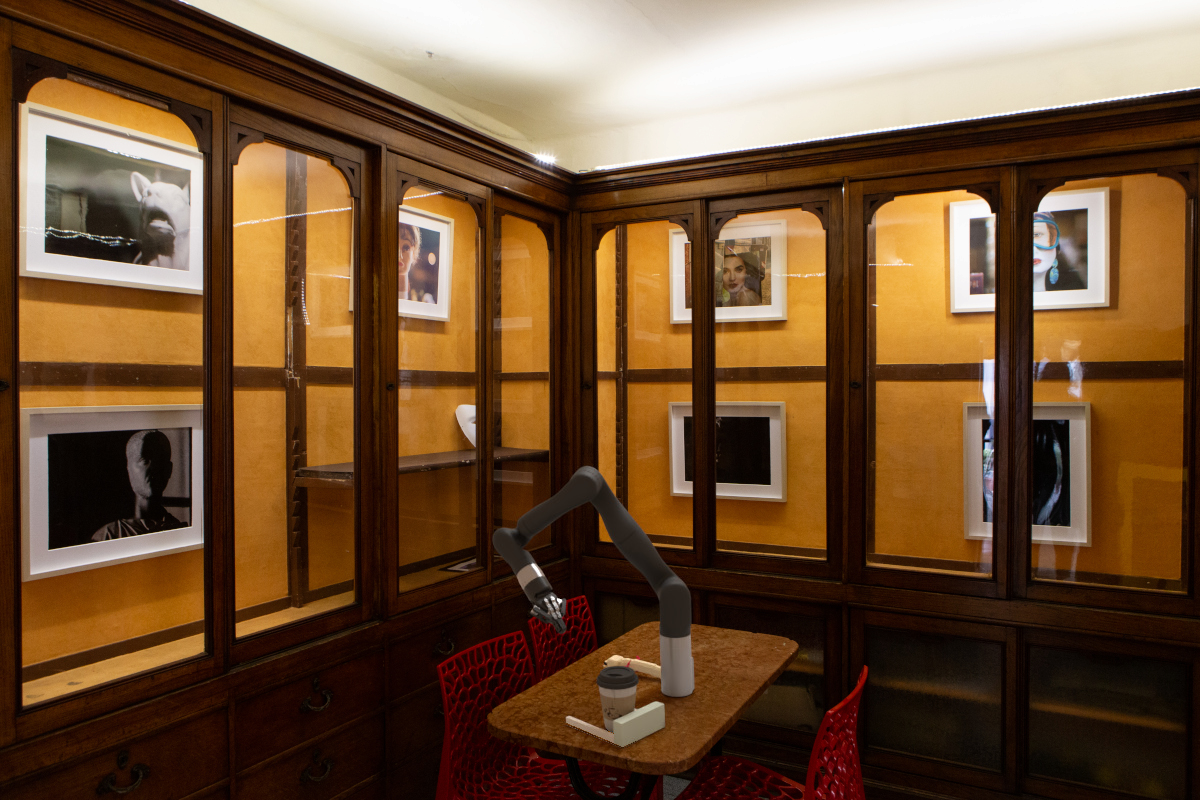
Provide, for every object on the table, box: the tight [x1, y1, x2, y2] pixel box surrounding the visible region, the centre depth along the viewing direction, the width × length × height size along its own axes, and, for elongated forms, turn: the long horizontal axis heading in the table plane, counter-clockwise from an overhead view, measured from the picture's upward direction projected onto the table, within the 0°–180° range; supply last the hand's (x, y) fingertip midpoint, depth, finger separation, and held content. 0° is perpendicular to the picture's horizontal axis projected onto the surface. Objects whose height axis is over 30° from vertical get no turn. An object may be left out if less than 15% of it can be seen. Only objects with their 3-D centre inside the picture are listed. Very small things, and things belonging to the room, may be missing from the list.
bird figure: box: [602, 654, 661, 680], centre depth 238 cm, size 10×9×25 cm
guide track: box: [565, 701, 666, 748], centre depth 202 cm, size 16×21×6 cm
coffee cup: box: [595, 666, 640, 733], centre depth 201 cm, size 11×11×15 cm
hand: (563, 631), depth 216 cm, fingers closed
